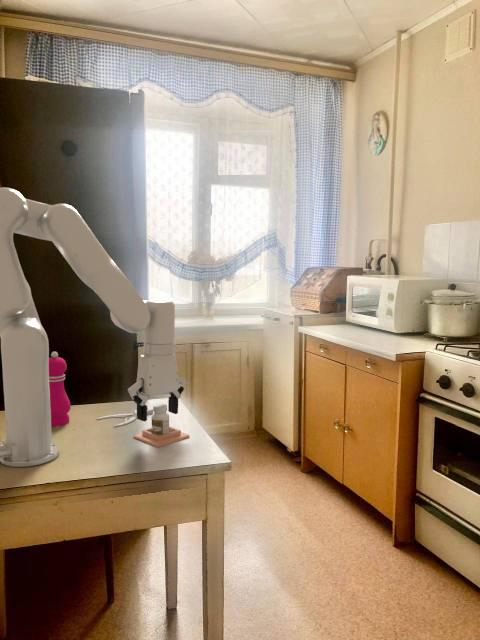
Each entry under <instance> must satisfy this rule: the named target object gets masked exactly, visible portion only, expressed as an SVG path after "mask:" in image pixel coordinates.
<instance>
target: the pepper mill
mask: <svg viewBox="0 0 480 640" xmlns="http://www.w3.org/2000/svg"><path fill="white" fill-rule="evenodd" d="M58 353H59V352H57V351H52V352H51V354H50V356H51V357H49V388H50V410H51V427H60V426H65V425H66V424H68V423H70V415H69V414H68V413H69V412H70V411H71V407H72V406H71V401H70V399H69V396H68V395H67V392H66V390H65V385H64V381H65V379H66V374H65V372H66V370H67V363H66V360H65V359H64V358H62V357H59V354H58Z"/></svg>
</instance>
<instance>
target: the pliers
mask: <svg viewBox="0 0 480 640" xmlns="http://www.w3.org/2000/svg"><path fill="white" fill-rule="evenodd" d="M153 413H154V412H153V408H150V409H148V406H147V416H148V415H152V414H153ZM129 417H130V418H129ZM110 418H114V419H123V418H125V419H124V421H123V422H121V423H117V424H115V425H113V428H118V427H122V426H126V425H128V424H129V425H130V424H131V423H133V422H134V421H136V420H137V419H138V418H137V409H134V410H133V412H132V413H118V414H117V413H116V414H115V413H114V414H110V415H104V416H101V417H97V418H96V421H100V420H105V419H110Z"/></svg>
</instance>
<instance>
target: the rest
mask: <svg viewBox="0 0 480 640" xmlns="http://www.w3.org/2000/svg"><path fill="white" fill-rule="evenodd" d="M133 438H135V439H137V440H140V441H141V442H144V443H147V444H148V445H152V446H153V447H156V448H160V447H163V446H166V445H169V444H172V443H176V442H179V441H182V440H185V439H188V438H190V434H188V433H185V432H183V431H181V429H178V428H175V427H172V426H170V425H169V433H166V434H163V435H160V436H159V435H156V434H154V433H152V427H149V428H146V429H143V430H142V431H141V432H140V433H137V434H134V435H133Z"/></svg>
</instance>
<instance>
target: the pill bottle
mask: <svg viewBox="0 0 480 640" xmlns="http://www.w3.org/2000/svg"><path fill="white" fill-rule="evenodd" d="M152 407H153V408H152V409H153V414H151V428H152V433H154V434H156V435H159V436H160V435H163V434H166V433H169V426H170V414H169V412H167V411H168V405H167V404H165V403H156V404H153V406H152Z"/></svg>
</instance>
